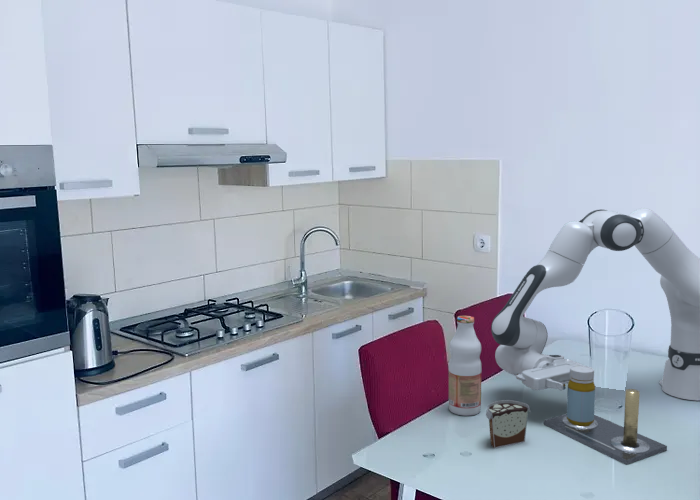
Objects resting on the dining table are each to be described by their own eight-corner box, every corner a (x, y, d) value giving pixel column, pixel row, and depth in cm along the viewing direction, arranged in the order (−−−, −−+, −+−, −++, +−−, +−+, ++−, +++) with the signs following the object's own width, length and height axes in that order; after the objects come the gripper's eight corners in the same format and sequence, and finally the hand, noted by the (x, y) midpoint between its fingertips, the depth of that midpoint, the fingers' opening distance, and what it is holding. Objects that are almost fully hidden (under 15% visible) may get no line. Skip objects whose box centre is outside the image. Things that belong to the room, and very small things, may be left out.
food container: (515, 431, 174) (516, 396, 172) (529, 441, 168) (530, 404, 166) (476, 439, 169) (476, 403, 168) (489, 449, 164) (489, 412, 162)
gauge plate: (582, 413, 185) (584, 361, 183) (666, 450, 161) (670, 391, 159) (543, 424, 178) (545, 371, 176) (626, 464, 154) (629, 403, 152)
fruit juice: (441, 410, 189) (442, 317, 185) (460, 401, 195) (461, 311, 191) (468, 419, 182) (470, 323, 178) (487, 409, 189) (488, 317, 185)
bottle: (595, 427, 172) (598, 373, 170) (568, 425, 173) (570, 372, 171) (591, 417, 179) (593, 365, 177) (565, 415, 180) (566, 364, 178)
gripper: (512, 365, 183) (548, 379, 171) (564, 353, 192) (602, 366, 180) (511, 386, 184) (547, 402, 172) (563, 374, 193) (601, 388, 181)
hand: (576, 384), depth 176 cm, fingers open, 8 cm apart
